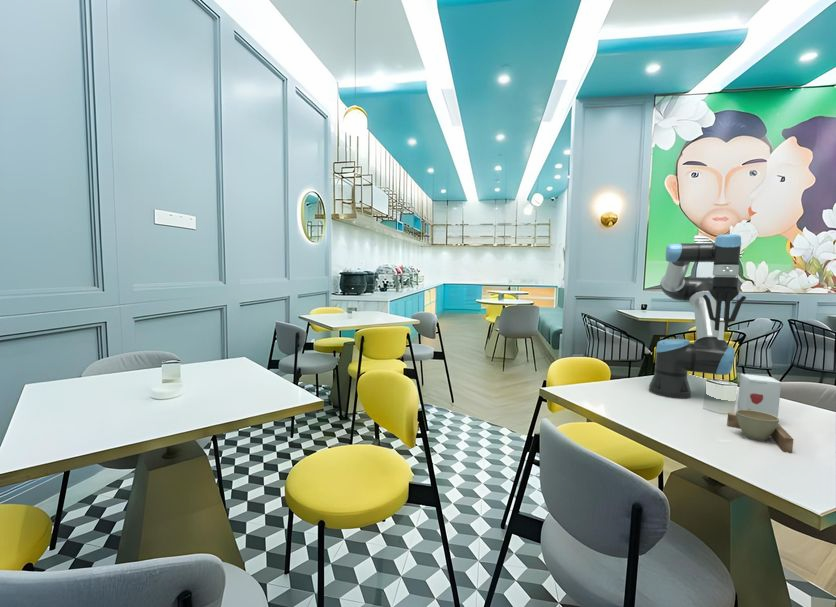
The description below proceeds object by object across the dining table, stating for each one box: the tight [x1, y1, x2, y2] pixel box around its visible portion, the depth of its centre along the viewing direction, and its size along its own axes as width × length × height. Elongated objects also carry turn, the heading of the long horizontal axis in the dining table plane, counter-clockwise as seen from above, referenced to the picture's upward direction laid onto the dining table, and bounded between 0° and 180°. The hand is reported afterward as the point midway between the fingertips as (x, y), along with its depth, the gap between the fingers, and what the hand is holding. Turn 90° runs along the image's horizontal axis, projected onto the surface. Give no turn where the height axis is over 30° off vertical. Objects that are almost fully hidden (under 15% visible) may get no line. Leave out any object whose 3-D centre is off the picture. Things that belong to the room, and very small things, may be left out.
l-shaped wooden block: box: [726, 412, 794, 454], centre depth 120 cm, size 12×18×4 cm, turn 149°
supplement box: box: [736, 373, 782, 418], centre depth 137 cm, size 9×9×15 cm
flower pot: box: [735, 409, 780, 442], centre depth 120 cm, size 10×10×7 cm
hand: (720, 339), depth 146 cm, fingers closed
